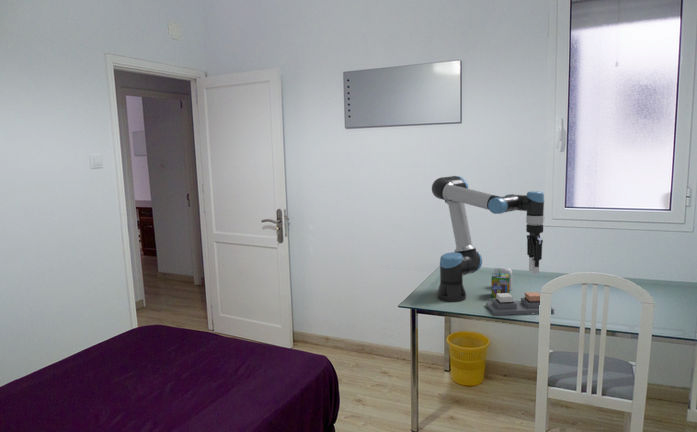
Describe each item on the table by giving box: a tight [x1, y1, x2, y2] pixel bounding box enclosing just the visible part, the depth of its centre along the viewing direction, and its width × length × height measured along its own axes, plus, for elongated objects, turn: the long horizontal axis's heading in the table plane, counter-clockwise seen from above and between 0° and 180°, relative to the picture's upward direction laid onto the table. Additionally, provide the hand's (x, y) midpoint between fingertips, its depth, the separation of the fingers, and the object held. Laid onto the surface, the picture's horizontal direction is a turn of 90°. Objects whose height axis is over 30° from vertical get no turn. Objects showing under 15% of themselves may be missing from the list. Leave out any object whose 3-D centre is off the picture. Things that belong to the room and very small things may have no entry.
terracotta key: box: [524, 291, 541, 301], centre depth 225 cm, size 6×6×2 cm
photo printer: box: [493, 266, 514, 291], centre depth 260 cm, size 10×4×12 cm, turn 39°
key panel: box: [485, 296, 555, 316], centre depth 226 cm, size 28×14×4 cm, turn 90°
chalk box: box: [490, 269, 511, 299], centre depth 246 cm, size 9×9×15 cm
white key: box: [496, 293, 514, 302], centre depth 225 cm, size 6×6×2 cm
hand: (533, 271), depth 223 cm, fingers open, 4 cm apart
